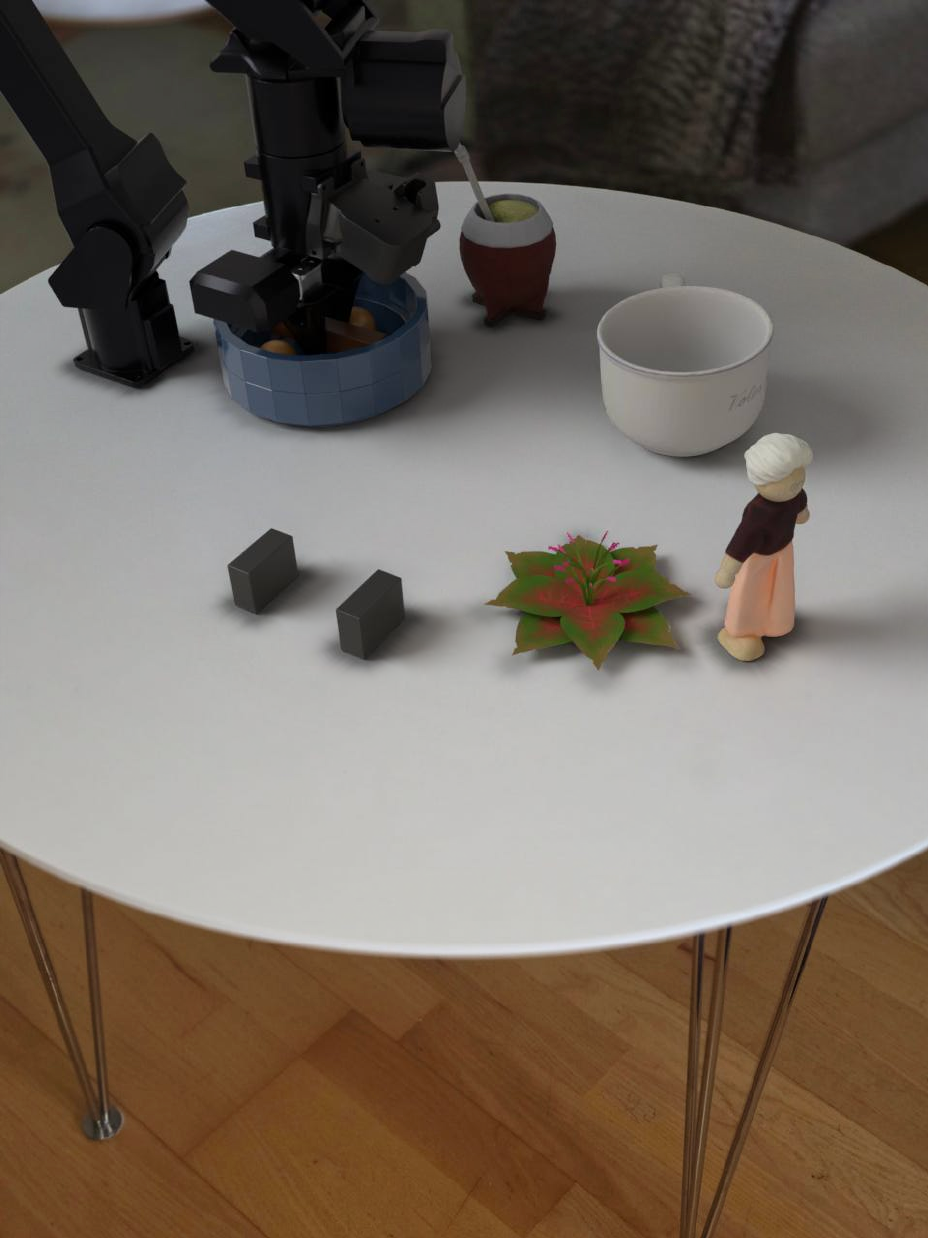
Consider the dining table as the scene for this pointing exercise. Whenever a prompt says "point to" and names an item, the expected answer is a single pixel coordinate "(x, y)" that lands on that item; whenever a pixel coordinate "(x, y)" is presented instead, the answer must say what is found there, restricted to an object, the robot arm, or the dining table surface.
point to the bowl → (334, 364)
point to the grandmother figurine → (765, 547)
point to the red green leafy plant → (588, 597)
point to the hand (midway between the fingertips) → (326, 357)
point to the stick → (339, 335)
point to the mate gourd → (506, 251)
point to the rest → (357, 617)
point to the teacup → (684, 366)
